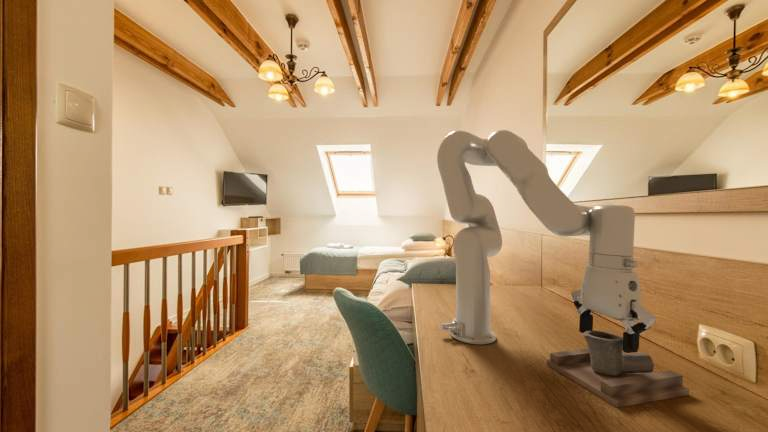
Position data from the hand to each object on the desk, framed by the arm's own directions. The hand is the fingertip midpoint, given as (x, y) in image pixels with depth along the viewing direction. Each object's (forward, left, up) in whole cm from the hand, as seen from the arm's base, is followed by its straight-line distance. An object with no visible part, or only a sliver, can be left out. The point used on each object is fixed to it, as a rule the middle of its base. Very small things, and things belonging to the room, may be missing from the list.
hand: (606, 341), depth 63 cm
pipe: (+2, -1, -7) cm, 7 cm away
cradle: (0, -1, -8) cm, 8 cm away
